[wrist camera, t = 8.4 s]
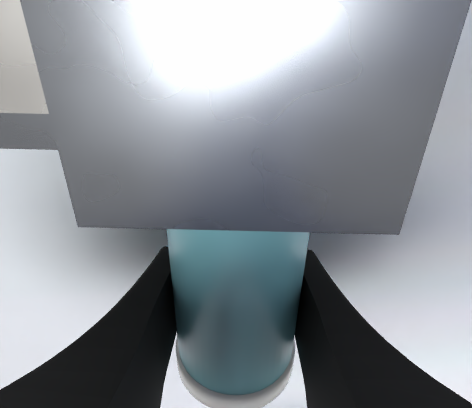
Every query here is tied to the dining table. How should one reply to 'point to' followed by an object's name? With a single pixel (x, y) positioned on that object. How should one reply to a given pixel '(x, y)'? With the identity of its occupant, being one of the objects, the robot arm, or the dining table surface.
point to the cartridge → (236, 312)
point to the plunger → (18, 64)
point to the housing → (238, 109)
